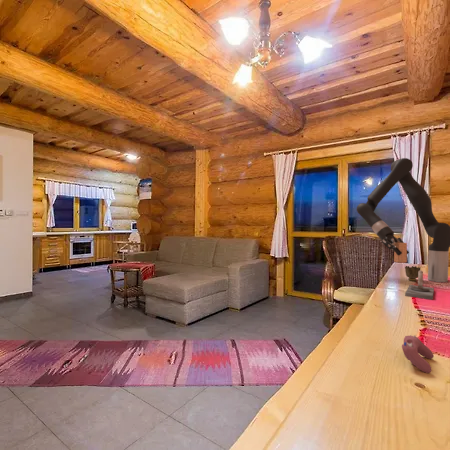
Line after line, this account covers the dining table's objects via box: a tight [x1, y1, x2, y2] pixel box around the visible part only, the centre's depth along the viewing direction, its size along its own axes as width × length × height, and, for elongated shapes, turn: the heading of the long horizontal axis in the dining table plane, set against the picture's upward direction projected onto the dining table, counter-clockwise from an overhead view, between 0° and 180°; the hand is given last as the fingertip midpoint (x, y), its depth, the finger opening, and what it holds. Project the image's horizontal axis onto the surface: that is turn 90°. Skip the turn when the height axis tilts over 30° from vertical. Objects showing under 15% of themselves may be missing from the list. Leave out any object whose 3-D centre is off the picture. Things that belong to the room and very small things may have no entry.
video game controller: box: [401, 334, 434, 374], centre depth 68 cm, size 10×5×7 cm, turn 141°
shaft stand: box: [404, 269, 435, 301], centre depth 133 cm, size 20×10×11 cm, turn 142°
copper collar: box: [393, 242, 408, 263], centre depth 150 cm, size 6×6×10 cm
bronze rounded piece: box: [404, 265, 422, 282], centre depth 161 cm, size 8×7×8 cm
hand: (403, 254), depth 149 cm, fingers closed on copper collar, 5 cm apart
